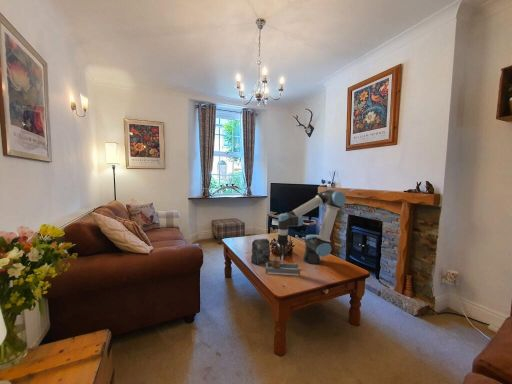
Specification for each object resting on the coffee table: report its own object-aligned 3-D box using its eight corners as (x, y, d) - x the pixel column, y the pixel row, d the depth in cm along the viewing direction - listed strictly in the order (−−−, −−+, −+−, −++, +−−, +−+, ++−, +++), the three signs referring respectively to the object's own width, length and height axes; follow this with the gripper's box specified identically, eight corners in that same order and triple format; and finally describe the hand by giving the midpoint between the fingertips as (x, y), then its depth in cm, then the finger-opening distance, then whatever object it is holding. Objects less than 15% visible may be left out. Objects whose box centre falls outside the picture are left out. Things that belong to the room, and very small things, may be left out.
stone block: (255, 265, 185) (255, 242, 183) (249, 262, 192) (249, 239, 191) (272, 261, 195) (273, 238, 193) (266, 257, 203) (267, 236, 201)
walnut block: (279, 266, 181) (279, 257, 180) (279, 271, 173) (279, 261, 172) (271, 266, 181) (272, 256, 180) (271, 270, 173) (272, 260, 172)
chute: (297, 268, 182) (297, 263, 181) (299, 275, 169) (299, 270, 169) (265, 266, 184) (266, 261, 183) (265, 273, 171) (265, 268, 171)
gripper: (291, 233, 177) (289, 262, 179) (274, 232, 178) (273, 261, 180) (291, 235, 170) (290, 266, 172) (274, 235, 171) (273, 265, 173)
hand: (281, 263), depth 176 cm, fingers closed
